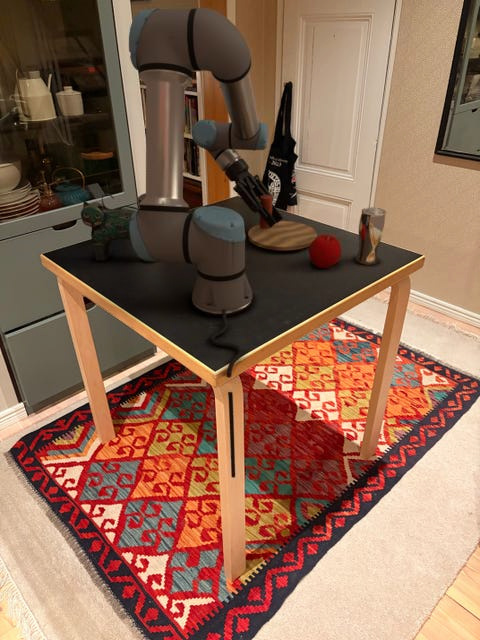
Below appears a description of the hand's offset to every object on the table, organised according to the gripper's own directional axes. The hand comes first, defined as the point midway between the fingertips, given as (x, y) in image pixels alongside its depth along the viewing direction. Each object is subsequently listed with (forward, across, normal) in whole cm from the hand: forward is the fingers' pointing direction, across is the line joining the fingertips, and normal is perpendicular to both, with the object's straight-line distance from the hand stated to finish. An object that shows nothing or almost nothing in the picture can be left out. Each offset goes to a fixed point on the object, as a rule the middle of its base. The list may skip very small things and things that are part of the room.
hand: (276, 222), depth 152 cm
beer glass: (+26, -5, -19) cm, 33 cm away
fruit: (+19, -13, -12) cm, 26 cm away
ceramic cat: (-19, -38, +26) cm, 50 cm away
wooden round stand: (+5, -3, 0) cm, 5 cm away
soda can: (-24, -16, +31) cm, 43 cm away
